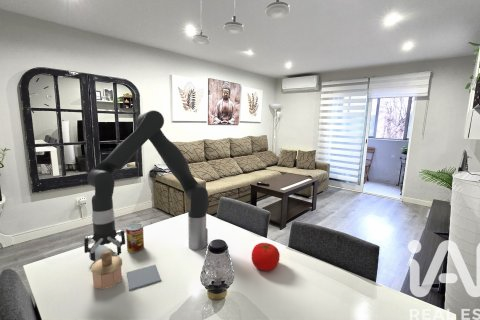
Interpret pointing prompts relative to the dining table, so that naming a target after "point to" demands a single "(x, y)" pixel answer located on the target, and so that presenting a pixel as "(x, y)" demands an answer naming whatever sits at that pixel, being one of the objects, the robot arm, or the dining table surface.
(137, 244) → the canned food
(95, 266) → the lid
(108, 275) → the bowl
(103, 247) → the ceramic mug
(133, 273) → the mat
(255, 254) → the tomato
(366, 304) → the dining table surface
